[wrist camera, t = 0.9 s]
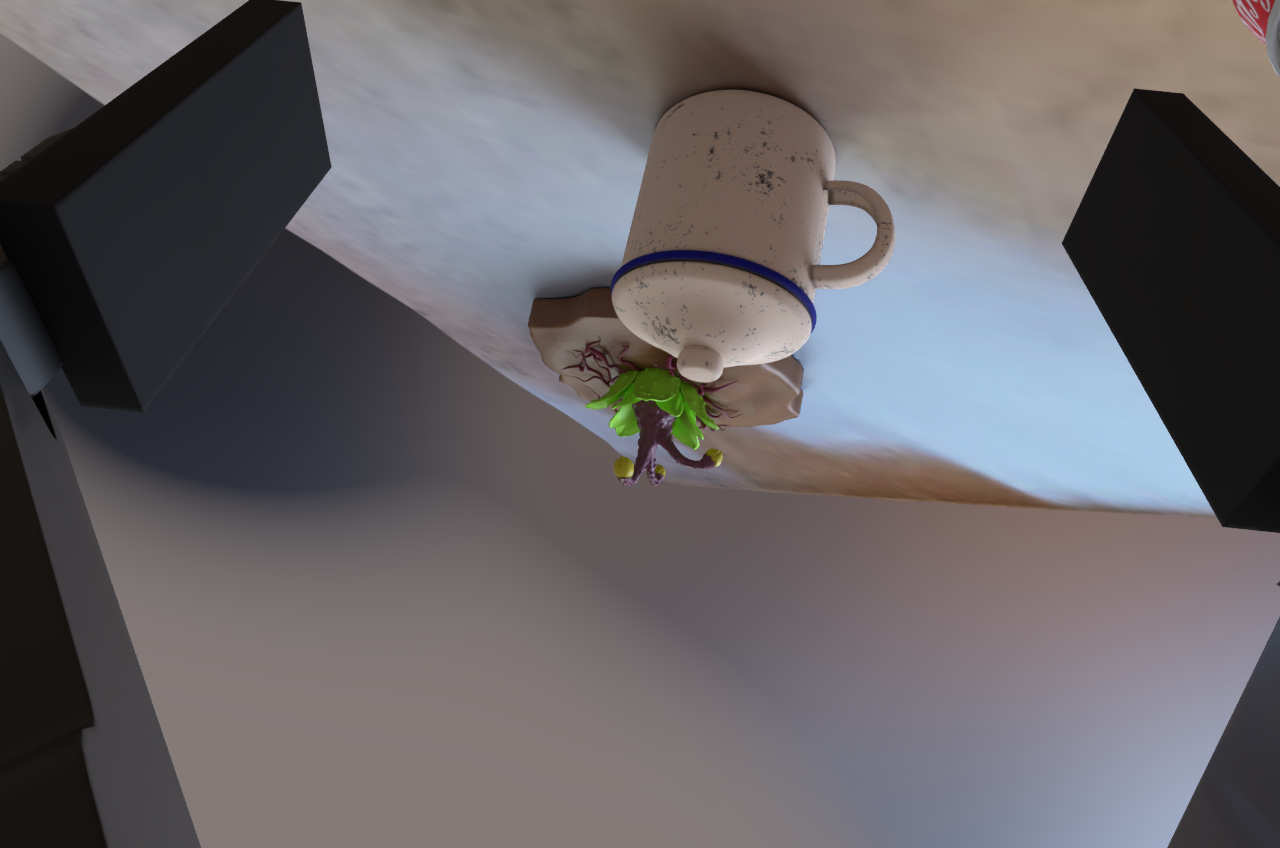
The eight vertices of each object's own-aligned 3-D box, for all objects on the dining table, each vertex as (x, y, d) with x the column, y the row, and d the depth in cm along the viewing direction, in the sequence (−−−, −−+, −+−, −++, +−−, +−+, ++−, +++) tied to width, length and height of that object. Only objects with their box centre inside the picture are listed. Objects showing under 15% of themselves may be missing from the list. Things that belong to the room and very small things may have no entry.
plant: (761, 283, 51) (728, 456, 48) (825, 406, 68) (805, 542, 65) (490, 287, 60) (446, 435, 57) (606, 396, 77) (577, 515, 73)
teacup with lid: (686, 210, 46) (642, 410, 42) (619, 93, 38) (557, 324, 34) (918, 198, 41) (890, 424, 37) (894, 58, 33) (856, 327, 29)
